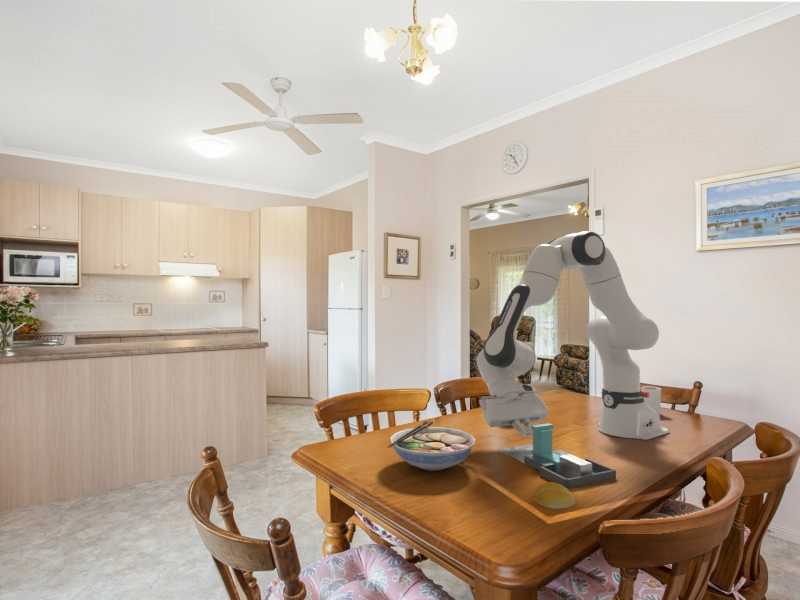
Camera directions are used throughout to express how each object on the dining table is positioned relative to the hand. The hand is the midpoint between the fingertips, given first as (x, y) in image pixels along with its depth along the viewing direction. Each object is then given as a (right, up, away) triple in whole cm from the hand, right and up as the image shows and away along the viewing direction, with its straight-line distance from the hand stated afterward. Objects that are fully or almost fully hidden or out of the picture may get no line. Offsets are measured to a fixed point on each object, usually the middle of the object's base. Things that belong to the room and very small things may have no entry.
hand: (527, 435), depth 122 cm
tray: (+7, -6, -17) cm, 20 cm away
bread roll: (-3, -6, -29) cm, 30 cm away
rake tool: (+3, -5, -9) cm, 11 cm away
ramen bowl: (-27, -6, -7) cm, 29 cm away
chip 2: (+7, -4, -19) cm, 20 cm away
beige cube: (+6, -5, -15) cm, 17 cm away
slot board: (+2, -6, -4) cm, 7 cm away
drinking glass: (+63, -6, +48) cm, 79 cm away
